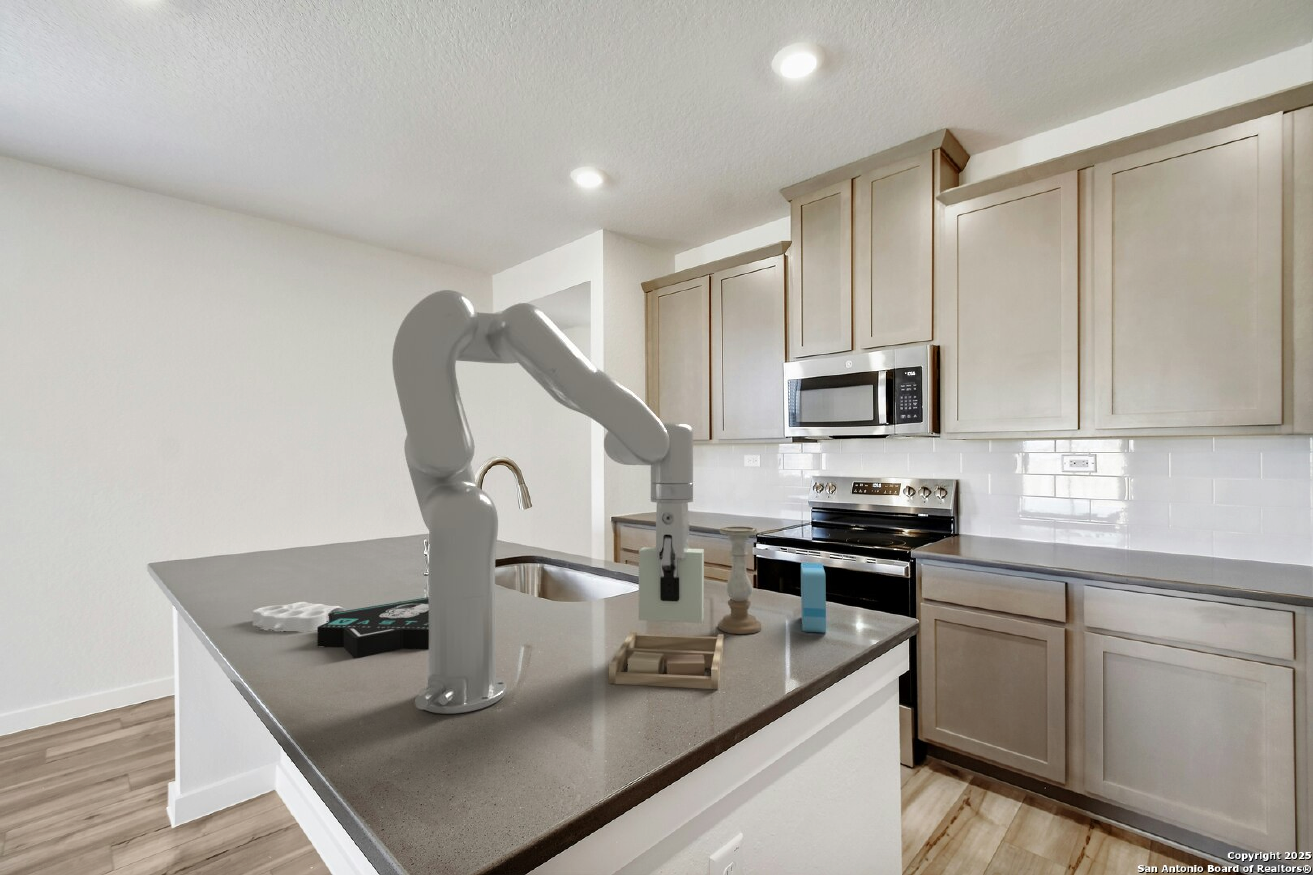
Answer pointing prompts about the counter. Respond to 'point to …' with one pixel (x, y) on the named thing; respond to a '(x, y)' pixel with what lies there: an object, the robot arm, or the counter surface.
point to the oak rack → (668, 646)
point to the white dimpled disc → (293, 616)
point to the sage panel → (689, 588)
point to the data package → (813, 597)
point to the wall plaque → (378, 628)
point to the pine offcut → (646, 663)
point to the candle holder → (739, 584)
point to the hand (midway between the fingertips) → (671, 596)
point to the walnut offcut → (686, 665)
